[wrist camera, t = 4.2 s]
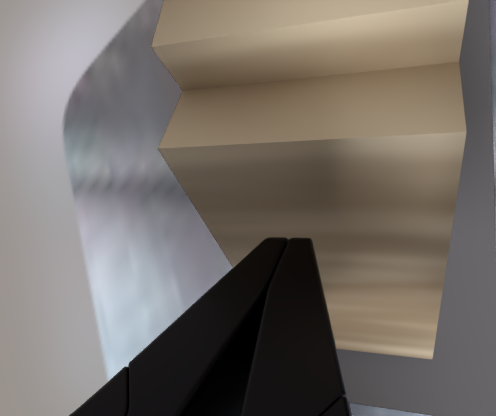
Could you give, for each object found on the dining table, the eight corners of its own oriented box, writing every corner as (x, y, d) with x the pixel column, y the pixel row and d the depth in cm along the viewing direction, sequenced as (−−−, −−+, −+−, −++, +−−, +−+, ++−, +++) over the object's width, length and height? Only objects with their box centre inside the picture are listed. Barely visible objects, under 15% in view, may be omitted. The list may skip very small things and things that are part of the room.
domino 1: (430, 238, 14) (469, -1, 6) (287, 234, 16) (151, 46, 8) (430, 195, 15) (463, -81, 6) (291, 196, 17) (169, -20, 8)
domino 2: (432, 359, 14) (466, 131, 6) (280, 342, 15) (157, 148, 8) (430, 312, 14) (459, 61, 7) (287, 300, 16) (183, 90, 9)
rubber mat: (498, 422, 14) (501, 426, 13) (237, 382, 17) (233, 384, 16) (485, -58, 16) (487, -66, 16) (258, -15, 19) (255, -21, 19)
